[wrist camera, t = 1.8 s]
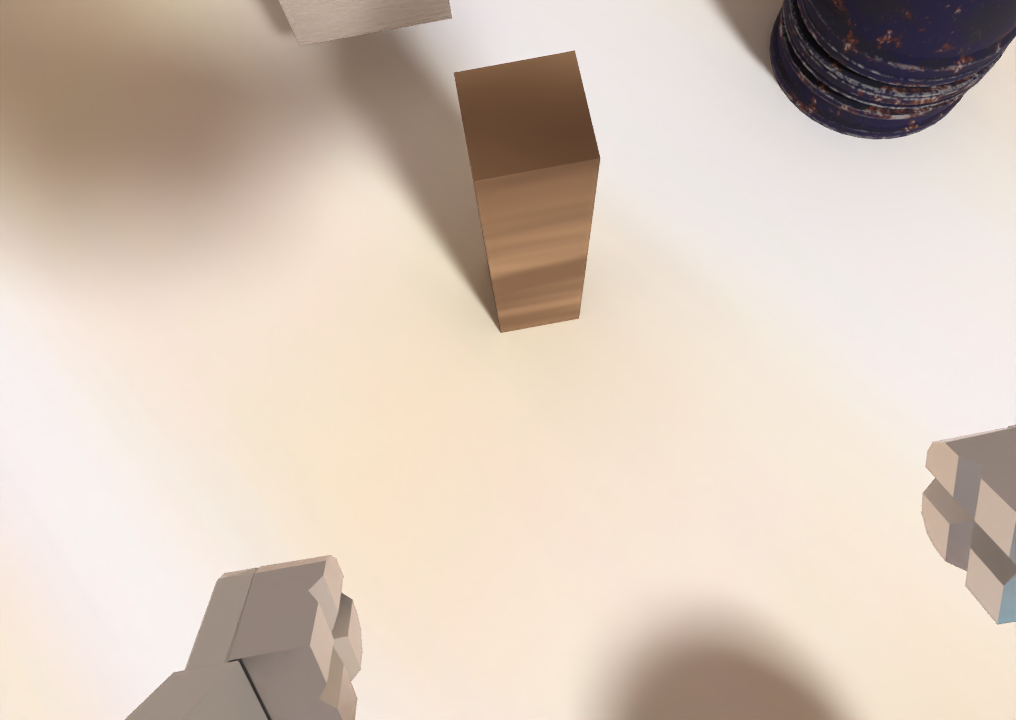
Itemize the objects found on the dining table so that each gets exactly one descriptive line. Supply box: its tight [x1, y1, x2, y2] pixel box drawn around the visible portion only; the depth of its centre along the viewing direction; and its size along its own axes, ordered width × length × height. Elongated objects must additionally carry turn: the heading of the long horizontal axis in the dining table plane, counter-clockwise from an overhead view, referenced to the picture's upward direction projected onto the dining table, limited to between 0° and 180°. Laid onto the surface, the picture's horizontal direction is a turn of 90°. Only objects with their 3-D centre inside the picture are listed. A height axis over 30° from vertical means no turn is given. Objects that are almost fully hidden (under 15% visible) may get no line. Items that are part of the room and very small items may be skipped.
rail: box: [454, 51, 600, 333], centre depth 29 cm, size 4×4×14 cm
